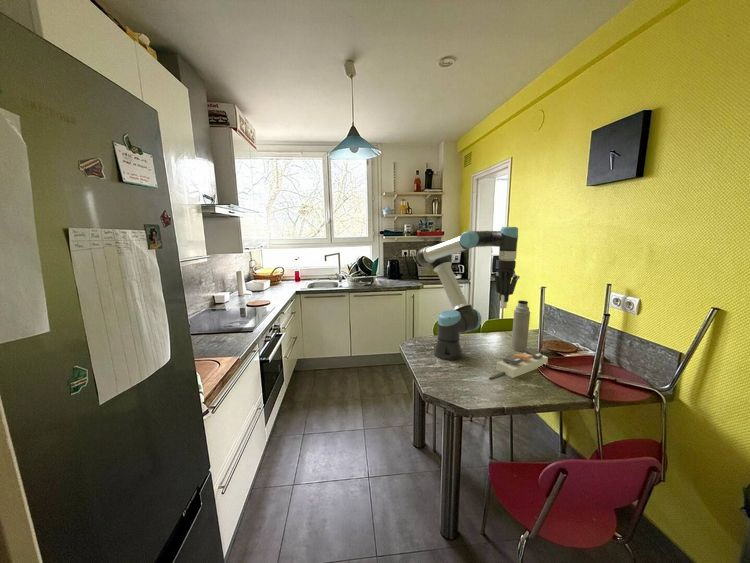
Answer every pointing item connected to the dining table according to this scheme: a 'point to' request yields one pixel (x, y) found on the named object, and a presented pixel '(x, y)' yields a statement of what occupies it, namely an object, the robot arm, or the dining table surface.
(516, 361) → the rocker
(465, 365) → the dining table surface
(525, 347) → the thermos bottle
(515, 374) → the power strip
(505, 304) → the robot arm
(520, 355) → the orange flat block
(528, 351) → the rocker
